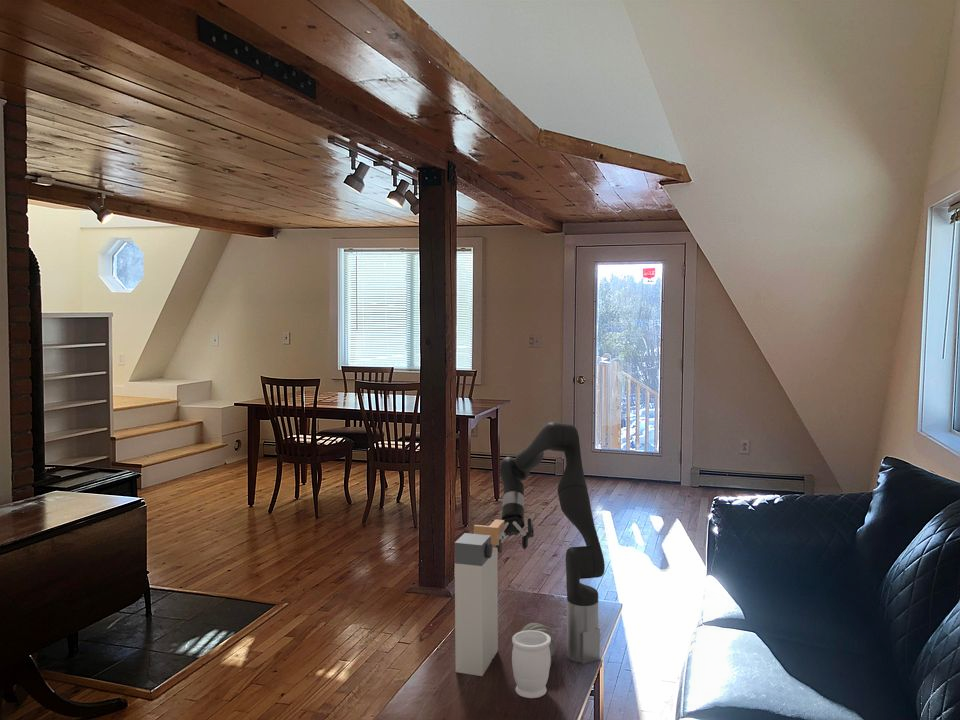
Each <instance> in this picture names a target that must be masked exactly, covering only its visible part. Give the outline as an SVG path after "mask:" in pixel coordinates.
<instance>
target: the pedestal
mask: <svg viewBox="0 0 960 720" xmlns="http://www.w3.org/2000/svg"><path fill="white" fill-rule="evenodd" d="M498 554H499V552H498V548H496V547H494V546H493V545H492V544H491V535H481V534H474V533H469V532H464V533H463V534H462V535H461V536H459V537H458V539H457V540H456V541H454V614H455V615H454V618H455V619H454V622H455V623H454V625H455V626H454V627H455V628H454V630H455V631H454V632H455V634H454V635H455V638H454V640H455V647H454V648H455V649H454V650H455V652H454V653H455V673H459V674H465V675H466V674H467V675H473V676H477V677H478V676H480V677H483V676H484V675H485V673H486V671H487V670H488V668H489V666H490V665H491V663H492V662H493V660H494V658H495V657H496V655H497V653H498V648H499V637H498V635H499V633H498V632H499V631H498V629H499V623H498V622H499V620H498V619H499V617H498V616H499V613H498V612H499V608H498V607H499V606H498V601H499V599H498V598H499V596H498V594H499V591H498V588H499V587H498V586H499V583H498V577H499V576H498V574H499V573H498V567H499V566H498V562H499V561H498V560H499V557H498ZM492 659H493V660H492Z"/></svg>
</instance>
